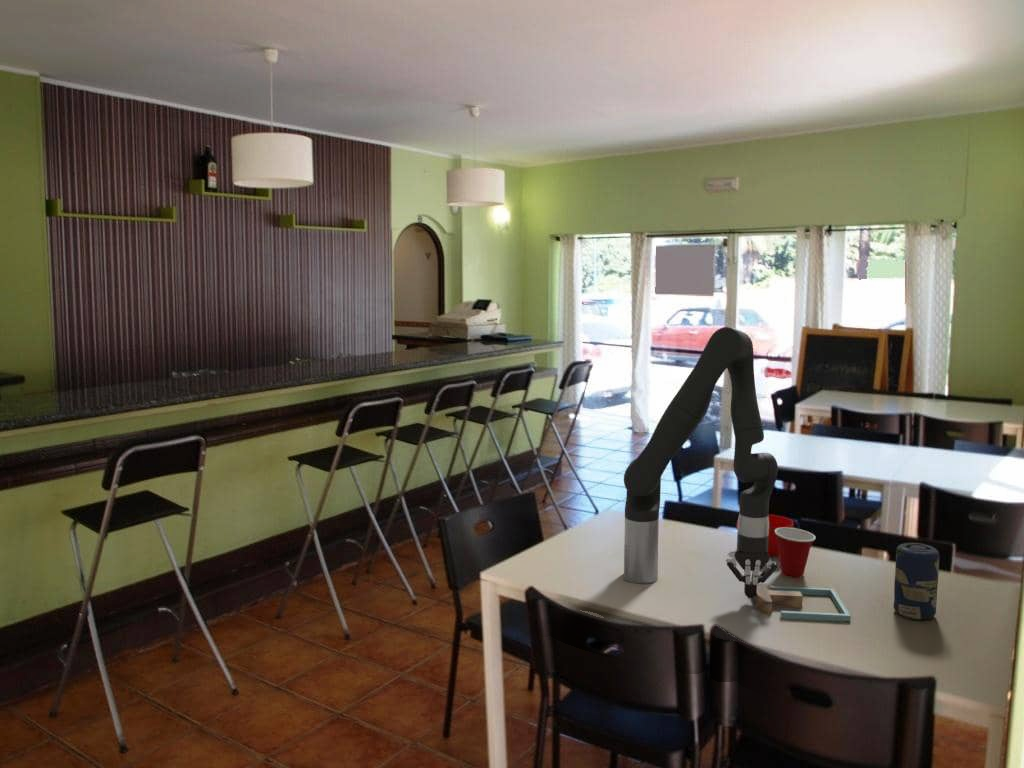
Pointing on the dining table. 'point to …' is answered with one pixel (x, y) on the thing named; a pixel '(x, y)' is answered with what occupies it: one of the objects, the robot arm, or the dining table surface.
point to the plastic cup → (793, 550)
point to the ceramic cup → (774, 523)
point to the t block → (776, 598)
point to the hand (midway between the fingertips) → (750, 597)
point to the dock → (814, 615)
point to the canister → (916, 580)
